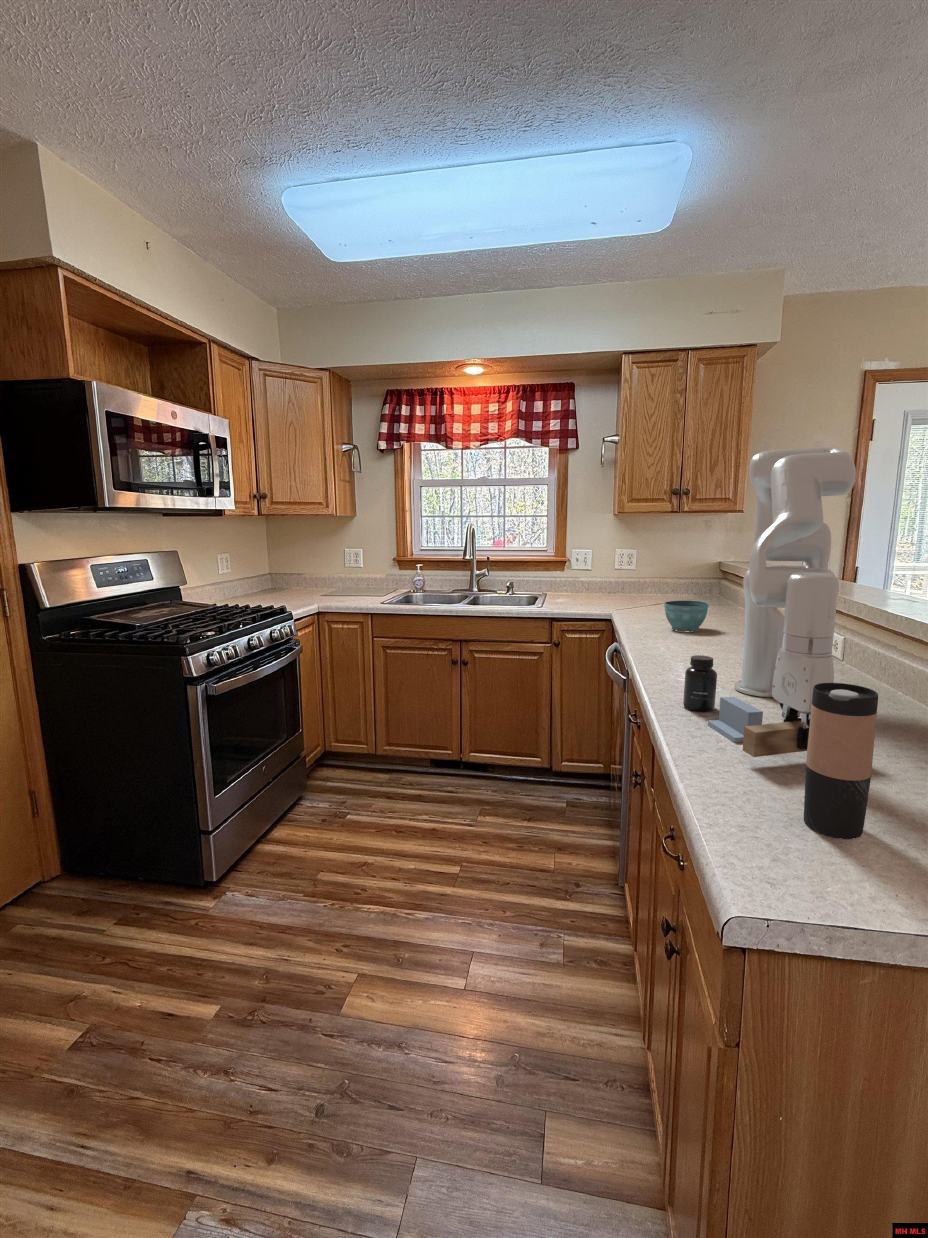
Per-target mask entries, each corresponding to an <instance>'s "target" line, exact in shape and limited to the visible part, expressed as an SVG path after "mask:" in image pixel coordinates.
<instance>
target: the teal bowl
mask: <svg viewBox="0 0 928 1238" xmlns="http://www.w3.org/2000/svg"><path fill="white" fill-rule="evenodd" d="M663 606H664V612H665V613H664V614H665V616H666V620H667V621H668V623H669V624H670V626H671V629H673V630H672V631H674V630H677V631H676V632H678V631H690V632H689V633H692V632H691V631H696V632H698V631H699V629H700V627H701V626H702V624H703V623H704V621H705V620H706V619H707V614H708V608H709V602H706V601H701V600H689V599H687V600H686V599H685V600H682V599H681V600H680V599H679V600H669V601H665V602H664V603H663Z"/></svg>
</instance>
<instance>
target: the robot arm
mask: <svg viewBox="0 0 928 1238" xmlns="http://www.w3.org/2000/svg"><path fill="white" fill-rule="evenodd" d="M749 462H750V463H749V469H748V470H749V471H748V472H749V481H750V483H751V484H750V485H751V487H752V490H753V493H754V496H755V501H756V511H755V513H756V514H755V523H754V531H753V546H752V549H751V552H750V555H749V560H748V561H749V562H748V570H746V571H745V573H744V576H743V581H742V585H743V586H742V588H743V596H744V611H745V612H744V629H743V630H744V633H743V647H742V649H743V650H742V662H741V663H742V665H741V679H740V680H737V681H735V682H734V684H733V687H734V689H735V690H736V691H737V692H740V693H743V694H745V695H750V696H755V697H760V698H761V697H762V698H773V699H774V700H776V701H777V702H778V703H779V707H780V708H781V717H782V718H783V722H791V721H801V725H802V727H799V730H798V742H797V748H798V749H800V750H802V749H807V748H808V738H809V727H810V716H811V706H812V695H813V687H814V686H815V685H816V684H820V683H835V671H834V669H835V668H834V658H833V656H832V654H833V646H834V635H835V623H836V614H837V613H836V612H837V603H838V596H839V590H840V583H839V582H840V581H839V578H838V577H837V576H836V574H835V573H834V572H833V570H831V569H829V565H830V557H831V551H832V533H831V529H830V526H829V525H828V524H827V523H826V522H824V511H823V500H822V497H834V496H835V497H836V496H838V497H839V496H844V495H847V494H849V492H851V491H852V490H853V488H854V485H855V483H856V477H857V476H856V475H857V470H856V465H855V462H854V458H853V456H851V454H850V453H849V452H847V451H845V450H844V449H841V448H839V447H836V446H832V447H831V446H829V447H823V446H821V447H806V448H784V449H783V448H781V449H771V450H765V451H761V452H759V453H756V454H755V455H753V456H752V458H751V459H750V461H749ZM767 562H803V563H805V564H804V565H797V564H795V565H794V564H793V565H791V564H790V565H787V564H767ZM779 608H780V609H784V614H783V613H782V612H781V610H780V609H779ZM800 715H801V716H800Z"/></svg>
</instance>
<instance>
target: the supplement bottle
mask: <svg viewBox="0 0 928 1238" xmlns="http://www.w3.org/2000/svg"><path fill="white" fill-rule="evenodd" d="M689 665H690V666H689V667H688V668H686V670H685V673H684V684H683V702H682V705H683V707H684V708H685V709H686V710H689V711H693V712H699V713H708V712H712V711H714V710H715V707H716V695H717V681H718V673H717V672H716V670H715V669H713V668H714V657H711V656H708V655H696V654H695V655H692V656H691V657H690V662H689Z"/></svg>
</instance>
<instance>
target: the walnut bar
mask: <svg viewBox="0 0 928 1238" xmlns="http://www.w3.org/2000/svg"><path fill="white" fill-rule="evenodd" d="M799 727H802V725H801V721H791V722H784V721H781V722H773V723H765V724H763V723H762V725H753V726H744V736H743V742H742V752H744V753H746V754H748V755H750V756H751V757H752V758H759V757H764V756H765V757H766V756H775V755H784V754H791V753H801V752H807V749H802V750H800V749H798V748H797V742H798V730H799Z"/></svg>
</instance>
